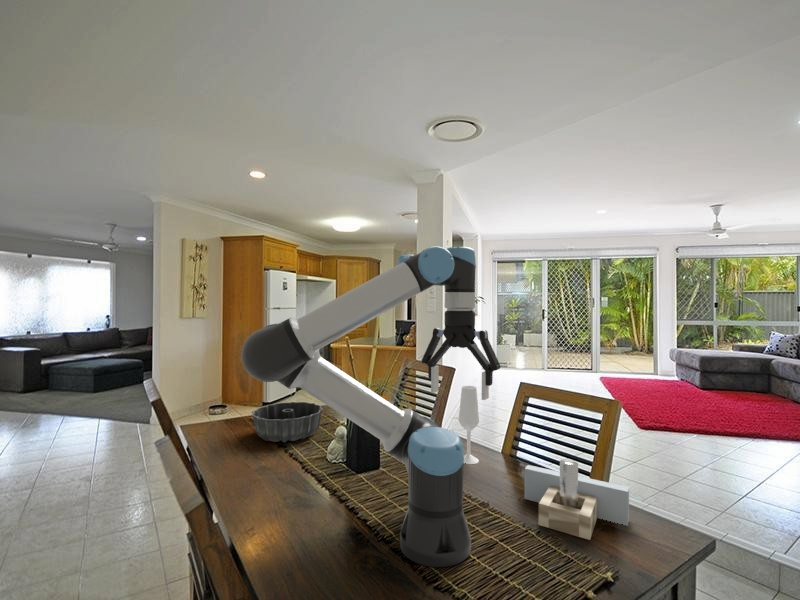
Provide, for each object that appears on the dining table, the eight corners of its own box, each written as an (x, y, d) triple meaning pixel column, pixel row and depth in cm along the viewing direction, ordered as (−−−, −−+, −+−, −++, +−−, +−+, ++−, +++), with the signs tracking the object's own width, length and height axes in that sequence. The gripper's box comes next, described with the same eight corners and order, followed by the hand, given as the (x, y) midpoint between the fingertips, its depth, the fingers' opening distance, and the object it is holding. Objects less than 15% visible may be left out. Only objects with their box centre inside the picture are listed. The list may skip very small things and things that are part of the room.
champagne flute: (478, 456, 138) (478, 385, 138) (479, 464, 132) (480, 389, 132) (457, 455, 139) (458, 384, 139) (458, 463, 132) (459, 388, 132)
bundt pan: (235, 443, 150) (236, 415, 150) (276, 422, 175) (277, 399, 175) (300, 451, 142) (300, 422, 142) (333, 428, 168) (333, 404, 168)
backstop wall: (627, 526, 96) (628, 491, 96) (524, 498, 109) (524, 468, 109) (628, 520, 98) (629, 487, 98) (527, 494, 111) (527, 464, 111)
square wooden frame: (590, 540, 90) (590, 517, 90) (538, 524, 96) (538, 503, 96) (597, 518, 99) (597, 497, 99) (549, 505, 105) (549, 485, 105)
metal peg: (576, 528, 95) (576, 467, 95) (557, 523, 97) (558, 463, 97) (579, 520, 98) (579, 461, 98) (561, 515, 100) (561, 458, 100)
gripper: (514, 310, 99) (513, 399, 99) (423, 308, 112) (422, 386, 112) (503, 311, 93) (503, 405, 93) (409, 309, 106) (408, 391, 106)
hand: (459, 395), depth 102 cm, fingers open, 13 cm apart
